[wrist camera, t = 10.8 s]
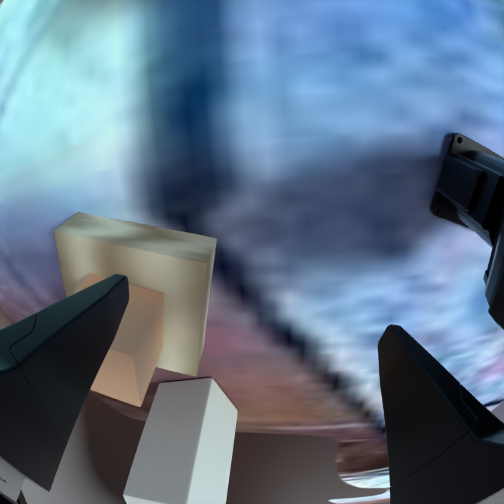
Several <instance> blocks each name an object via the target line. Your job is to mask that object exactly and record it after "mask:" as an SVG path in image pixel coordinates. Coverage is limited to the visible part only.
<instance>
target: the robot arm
mask: <svg viewBox="0 0 504 504" xmlns="http://www.w3.org/2000/svg"><path fill="white" fill-rule="evenodd" d="M458 137H459V139H460V140H459V142H457V139H458ZM436 188H437V189H436V191H435V194H434V197H433V200H432V203H431V206H430V211H431V213H432V214H433V215H435V216H438V217H440V218H443V219H446V220H449V221H452V222H455V223H458V224H461V225H463V226H466V227H469V228H471V229H472V230H473V231H474V232H475V233H477V234H478V235H479V236H480V237H481V238H482V239H483V240H484V241H485V242H487V243H488V244H489V245H490V246H491V247H492V252H491V257H490V261H489V264H488V268H487V270H486V271H485V274H484V281H485V284H486V291H485V295H486V298H487V301H488V304H489V306H490V307H489V310H488V312H489V314H490V315H491V317H492V318H493V319H494V321H495V322H496V323H497V324H498V325H499V326H500V327H501V328H502V329H503V330H504V158H503V157H501V156H499V155H498V154H496V153H494V152H493V151H491V150H489V149H488V148H486V147H484V146H482V145H481V144H479V143H477V142H475V141H474V140H472V139H470V138H468V137H466V136H464V135H462V134H460V133H454V134H453V136H452V139H451V143H450V146H449V150H448V153H447V156H446V157H445V161H444V164H443V167H442V170H441V174H440V177H439V180H438V183H437V186H436ZM437 206H438V209H437V210H436V211H435V208H436V207H437ZM128 302H129V282H128V277H127V276H125V275H121V274H114V275H112V276H110V277H108V278H106V279H104V280H102V281H99V282H97V283H95V284H93V285H91V286H89V287H87V288H85V289H83V290H81V291H79V292H77V293H75V294H73V295H71V296H69V297H67V298H65V299H63V300H61V301H59V302H57V303H55V304H53V305H51V306H49V307H47V308H45V309H43V310H41V311H39V312H37V314H36V313H35V314H33V315H31V316H29V317H27V318H25V319H23V320H21V321H19V322H17V323H15V324H12V325H10V326H8V327H6V328H3V329H1V330H0V504H27V503H26V500H25V498H24V496H23V493H22V490H21V488H22V486H23V483H24V481H25V478H26V479H28V480H30V481H31V482H33V483H35V484H36V485H38V486H40V487H42V488H43V489H45V490H47V491H50V489H51V487H52V484H53V481H54V478H55V475H56V472H57V470H58V467H59V464H60V461H61V458H62V456H63V453H64V451H65V448H66V446H67V443H68V440H69V438H70V435H71V433H72V430H73V428H74V425H75V423H76V420H77V418H78V416H79V413H80V411H81V409H82V407H83V404H84V402H85V400H86V398H87V395H88V393H89V391H90V389H91V387H92V384H93V382H94V380H95V378H96V376H97V374H98V372H99V369H100V367H101V365H102V363H103V361H104V359H105V357H106V355H107V353H108V351H109V349H110V347H111V345H112V343H113V341H114V339H115V336H116V334H117V331H118V328H119V326H120V323H121V320H122V318H123V315H124V312H125V310H126V307H127V305H128ZM378 358H379V377H380V388H381V395H382V402H383V410H384V418H385V427H386V437H387V447H388V460H389V476H390V486H391V487H390V504H504V423H503V422H501V421H500V420H499V419H498V418H497V417H496V416H495V415H493V414H492V413H491V412H490V411H489V410H488V409H487V408H486V407H484V406H483V405H482V404H481V403H480V402H479V401H478V400H477V399H476V398H475V397H474V396H473V395H472V394H471V393H469V392H468V391H467V390H466V389H465V388H464V387H463V386H462V385H460V383H459V382H458V381H457V380H456V379H455V378H454V377H453V376H452V375H451V374H450V373H449V372H448V371H447V370H446V369H445V368H444V367H443V366H442V365H441V364H440V363H439V362H438V361H437V360H436V359H435V358H434V357H433V356H432V355H431V354H430V353H429V352H427V351H426V350H425V349H424V348H423V347H422V346H421V345H420V344H419V343H418V342H417V341H416V340H415V339H414V338H413V337H412V336H410V335H409V334H408V333H407V332H406V331H405V330H404V329H403V328H402V327H401V326H399V325H392V324H391V325H389V326H388V327H387V328H386V330H385V332H384V333H383V335H382V337H381V338H380V340H379V343H378Z"/></svg>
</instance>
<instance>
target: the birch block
mask: <svg viewBox="0 0 504 504" xmlns="http://www.w3.org/2000/svg"><path fill="white" fill-rule="evenodd" d="M54 234H55V241H56V248H57V254H58V260H59V265H60V271H61V276H62V281H63V285H64V290H65V294H66V298H67V297H69V296H71V295H73V293H74V292H75V291H76V290H77V289H78V287H79V286H80V285H81V284H82V283H83V281H84V280H85V279H86V278H87V277H88V275H89V274H90V273H93V274H96V275H99V276H103V277H106V278H108V277H110V276H112V275H114V274H121V275H125V276H127V277H128V282H129V284H131V285H135V286H138V287H142V288H146V289H150V290H154V291H157V292H161V293H164V306H163V349H162V352H161V354H160V357H159V360H158V362H157V365H156V367H159V368H162V369H166V370H170V371H174V372H179V373H183V374H187V375H191V376H196V375H197V371H198V367H199V363H200V360H201V356H202V352H203V348H204V338H205V329H206V321H207V312H208V304H209V296H210V288H211V280H212V272H213V265H214V257H215V250H216V243H217V238H213V237H208V236H202V235H197V234H192V233H187V232H181V231H176V230H171V229H166V228H160V227H155V226H150V225H145V224H139V223H134V222H129V221H123V220H118V219H113V218H107V217H102V216H97V215H91V214H86V213H80V212H78V213H77V214H75V215H74V216H73V217H71V218H70V219H69V220H67V221H66V222H65V223H63V224H62V225H61V226H59V227H58V228H57V229H56V230H54Z"/></svg>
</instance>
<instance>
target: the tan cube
mask: <svg viewBox="0 0 504 504" xmlns="http://www.w3.org/2000/svg"><path fill="white" fill-rule="evenodd" d="M104 279H106V277H103V276H99V275H96V274H93V273H90V274H89V275H88V277H87V278H86V279H85V280H84V281H83V283H82V284H81V285H80V286H79V287H78V289H77V290H76V291H75V292H74V293H73V294H75V293H77V292H79V291H81V290H83V289H85V288H87V287H89V286H91V285H93V284H95V283H97V282H99V281H102V280H104ZM163 306H164V293H161V292H157V291H154V290H150V289H146V288H142V287H138V286H135V285H131V284H129V302H128V305H127V307H126V310H125V312H124V315H123V318H122V320H121V323H120V326H119V328H118V331H117V334H116V336H115V339H114V341H113V343H112V345H111V347H110V349H109V351H108V353H107V355H106V357H105V359H104V361H103V363H102V365H101V367H100V369H99V372H98V374H97V376H96V378H95V380H94V382H93V384H92V387H91V390H93V391H96V392H98V393H101V394H104V395H106V396H109V397H112V398H115V399H117V400H120V401H123V402H126V403H129V404H132V405H135V406H138V407H141V405H142V402H143V400H144V397H145V394H146V391H147V389H148V386H149V383H150V381H151V378H152V375H153V373H154V370H155V367H156V365H157V362H158V360H159V357H160V354H161V352H162V349H163Z"/></svg>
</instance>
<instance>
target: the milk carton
mask: <svg viewBox="0 0 504 504" xmlns="http://www.w3.org/2000/svg"><path fill="white" fill-rule="evenodd" d="M236 420H237V409H236V408H235V407H234V405H233V404H232V403H231V402H230V400H229V399H228V398H227V396H226V395H225V394H224V393H223V391H222V390H221V389H220V387H219V386H218V385H217V384H216V382H215V381H214V380H213V378H204V379H195V380H186V381H176V382H165V383H160V384H159V385H158V388H157V391H156V394H155V397H154V400H153V403H152V406H151V409H150V412H149V415H148V418H147V421H146V424H145V427H144V430H143V433H142V436H141V439H140V442H139V446H138V449H137V452H136V455H135V458H134V461H133V465H132V468H131V471H130V474H129V478H128V481H127V484H126V488H125V491H124V494H123V496H124V498H125V501H126V503H127V504H226V497H227V489H228V481H229V474H230V466H231V459H232V451H233V443H234V435H235V428H236Z"/></svg>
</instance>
